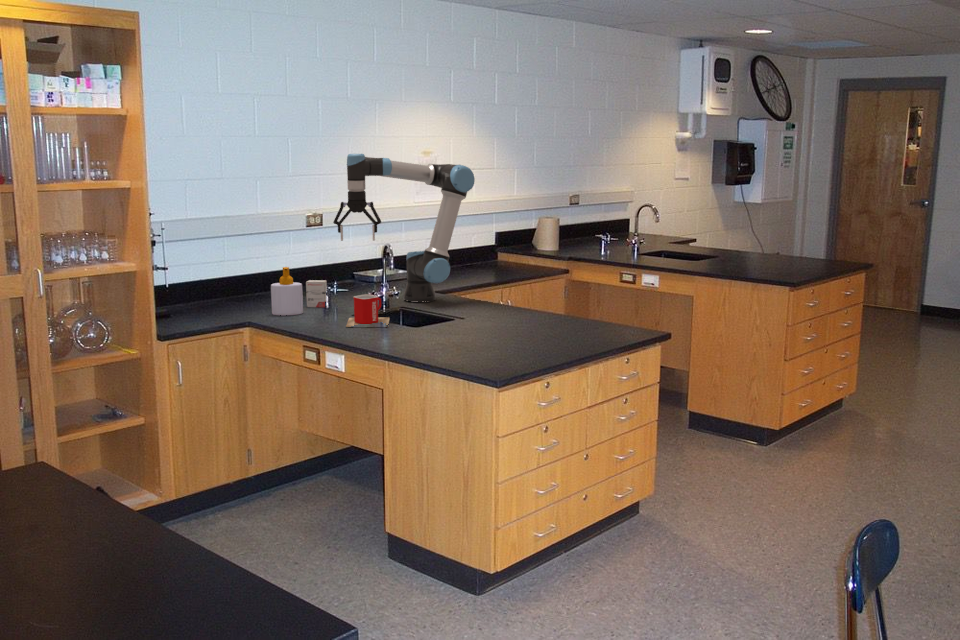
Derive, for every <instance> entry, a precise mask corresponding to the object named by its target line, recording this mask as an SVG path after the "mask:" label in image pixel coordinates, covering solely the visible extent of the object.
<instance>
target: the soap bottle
mask: <svg viewBox="0 0 960 640" xmlns="http://www.w3.org/2000/svg"><path fill="white" fill-rule="evenodd" d="M303 294H304V293H303V283H300V282H294V278H293V277H292V276H291V275H290V267H289V266H285V267H284V266H283V267H282V276H280V278H279V282H275V283H272V284H270V298H271V313H272V315H273V316H280V315H281V316H286V315H287V316H299V315H302V314H303V313H304V304H303V303H304V302H303V301H304V299H303V298H304V297H303ZM281 316H280V317H281Z"/></svg>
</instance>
